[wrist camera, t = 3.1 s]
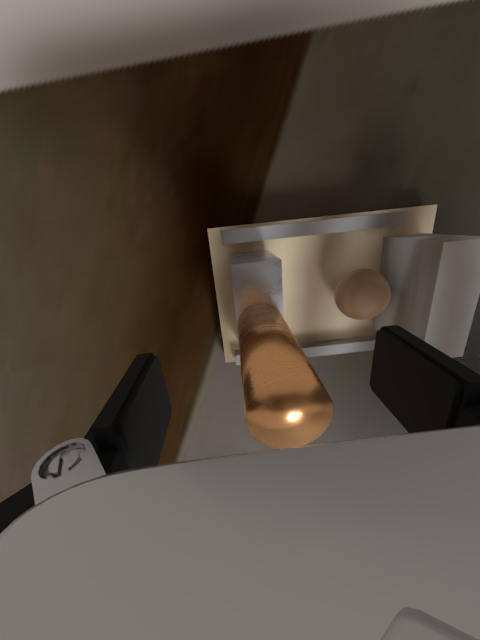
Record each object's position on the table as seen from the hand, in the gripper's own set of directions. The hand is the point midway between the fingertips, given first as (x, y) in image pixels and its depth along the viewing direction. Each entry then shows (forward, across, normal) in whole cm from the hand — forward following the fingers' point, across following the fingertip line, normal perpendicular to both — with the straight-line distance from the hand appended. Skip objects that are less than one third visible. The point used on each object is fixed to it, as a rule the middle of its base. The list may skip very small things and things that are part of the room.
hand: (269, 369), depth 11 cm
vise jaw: (+11, 0, 0) cm, 11 cm away
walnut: (+11, -9, 0) cm, 14 cm away
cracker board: (+13, -6, 0) cm, 14 cm away
